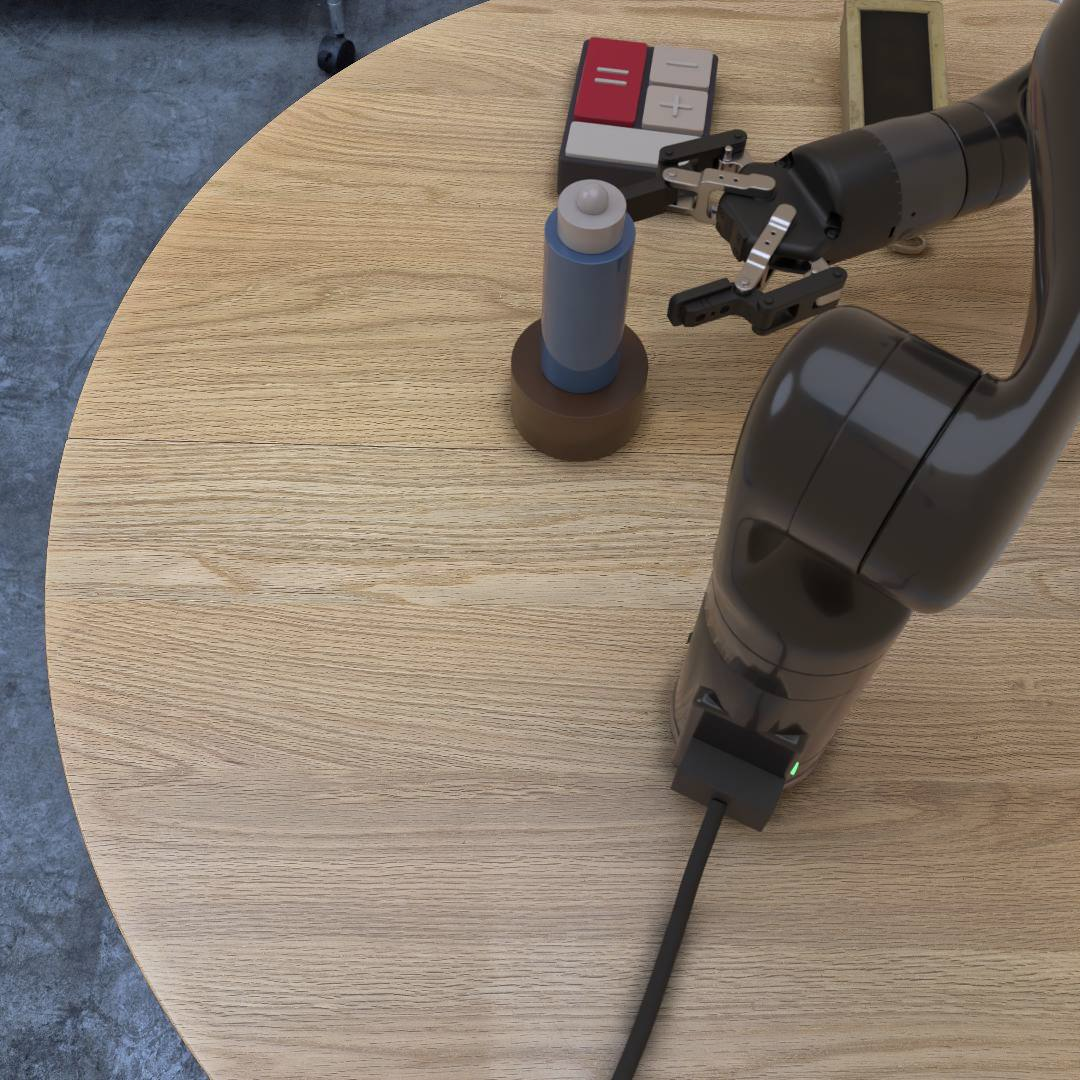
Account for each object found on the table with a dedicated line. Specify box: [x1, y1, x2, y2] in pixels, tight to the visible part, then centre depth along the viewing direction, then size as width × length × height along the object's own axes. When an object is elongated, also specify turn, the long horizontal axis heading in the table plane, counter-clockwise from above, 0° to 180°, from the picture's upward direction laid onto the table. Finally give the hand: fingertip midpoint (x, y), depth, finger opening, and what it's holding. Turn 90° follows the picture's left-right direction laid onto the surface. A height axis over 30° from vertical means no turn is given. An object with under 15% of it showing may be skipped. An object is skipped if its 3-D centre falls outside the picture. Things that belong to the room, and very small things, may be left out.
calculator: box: [556, 36, 719, 196], centre depth 94 cm, size 11×4×15 cm
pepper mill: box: [540, 180, 637, 394], centre depth 72 cm, size 5×5×15 cm
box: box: [839, 0, 949, 255], centre depth 94 cm, size 8×22×5 cm, turn 178°
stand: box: [510, 317, 650, 462], centre depth 81 cm, size 9×9×5 cm
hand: (639, 261), depth 72 cm, fingers open, 8 cm apart
